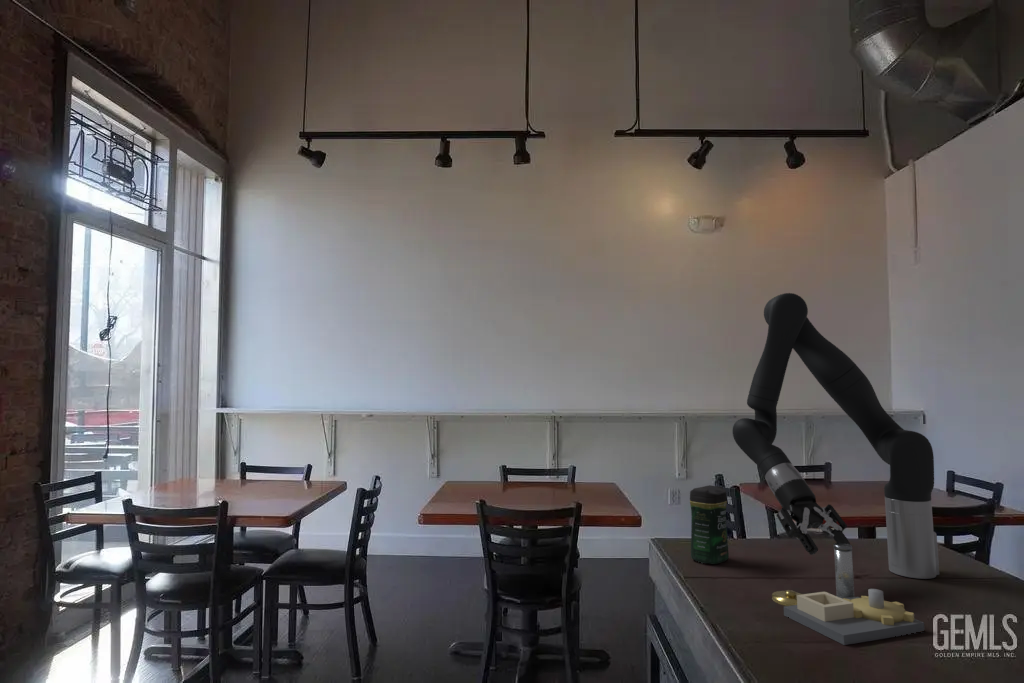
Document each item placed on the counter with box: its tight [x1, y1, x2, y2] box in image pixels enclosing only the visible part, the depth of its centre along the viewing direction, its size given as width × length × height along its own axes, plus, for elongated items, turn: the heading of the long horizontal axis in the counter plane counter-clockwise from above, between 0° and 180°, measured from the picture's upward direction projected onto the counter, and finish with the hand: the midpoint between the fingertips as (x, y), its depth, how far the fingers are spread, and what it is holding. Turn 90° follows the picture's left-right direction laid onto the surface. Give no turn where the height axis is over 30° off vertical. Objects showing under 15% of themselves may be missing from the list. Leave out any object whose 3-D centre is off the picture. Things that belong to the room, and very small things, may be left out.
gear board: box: [783, 588, 925, 646], centre depth 110 cm, size 20×14×6 cm
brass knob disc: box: [771, 589, 803, 607], centre depth 121 cm, size 7×7×2 cm
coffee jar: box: [689, 485, 730, 565], centre depth 151 cm, size 10×8×19 cm
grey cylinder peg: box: [833, 542, 855, 599], centre depth 122 cm, size 3×3×11 cm
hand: (831, 551), depth 125 cm, fingers open, 8 cm apart
